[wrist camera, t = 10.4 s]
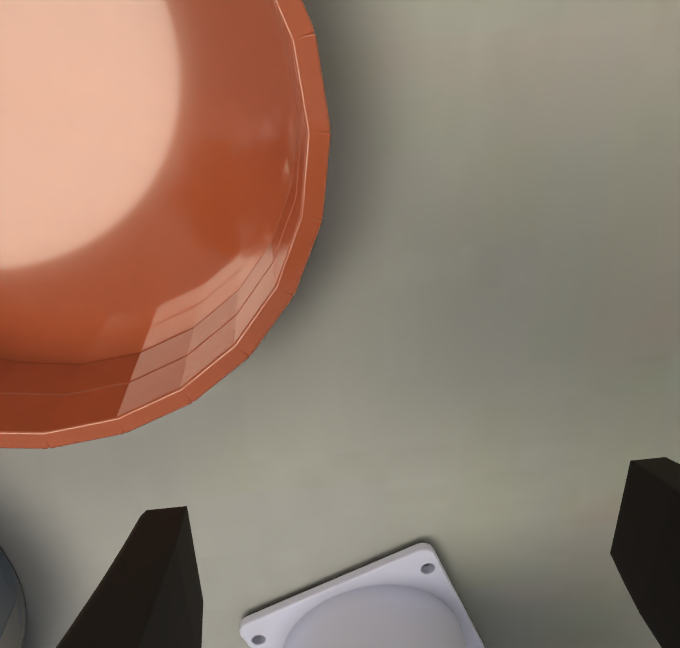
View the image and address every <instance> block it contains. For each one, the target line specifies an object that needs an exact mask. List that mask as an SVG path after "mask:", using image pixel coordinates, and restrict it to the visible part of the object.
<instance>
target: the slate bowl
mask: <svg viewBox="0 0 680 648" xmlns="http://www.w3.org/2000/svg"><path fill="white" fill-rule="evenodd" d="M25 628H26V608H25V601H24V597H23V593H22V589H21V585H20V583H19V580H18V578H17V576H16V574H15V571H14V569H13V567H12V565H11V564H10V562H9V561H8V559H7V557H6V556H5V554H4V553H3V551H2V550H1V548H0V648H21V647H22V644H23V641H24V635H25Z"/></svg>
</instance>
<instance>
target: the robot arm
mask: <svg viewBox="0 0 680 648" xmlns="http://www.w3.org/2000/svg"><path fill="white" fill-rule="evenodd" d="M610 554H611V556H612V558H613V560H614V562H615V565H616V567H617V569H618V571H619V573H620V575H621V577H622V579H623V581H624V584H625V586H626V588H627V590H628V591H629V593H630V595H631V597H632V599H633V601H634V603H635V605H636V607H637V609H638V611H639V613H640V614H641V616H642V618H643V619H644V621H645V622H646V624H647V626H648V627H649V629H650V630H651V632H652V633H653V635H654V636H655V638H656V639H657V641H658V643H659V644H660V646H661V647H662V648H680V464H678V463H676V462H674V461H672V460H670V459H668V458H666V457H662V458H653V459H643V460H633V461H630V466H629V470H628V475H627V479H626V484H625V488H624V493H623V497H622V502H621V506H620V511H619V516H618V520H617V525H616V529H615V534H614V538H613V543H612V547H611V552H610ZM428 563H430V564H428ZM425 564H428V565H426V566H423V565H425ZM202 618H203V597H202V591H201V586H200V580H199V574H198V568H197V562H196V557H195V551H194V545H193V539H192V533H191V527H190V522H189V516H188V510H187V506H184V507H174V508H165V509H155V510H146V511H145V512H144V513H143V514H142V515H141V517H140V518H139V520H138V521H137V523H136V525H135V527H134V528H133V530H132V532H131V533H130V535H129V537H128V538H127V540H126V542H125V544H124V545H123V547H122V549H121V550H120V552H119V553H118V555H117V557H116V558H115V560H114V562H113V563H112V565H111V566H110V568H109V569H108V571H107V573H106V574H105V576H104V577H103V579H102V580H101V582H100V584H99V585H98V587H97V588H96V590H95V591H94V593H93V594H92V596H91V597H90V599H89V600H88V602H87V603H86V605H85V606H84V608H83V609H82V611H81V612H80V613H79V615H78V616H77V618H76V619H75V621H74V622H73V624H72V625H71V627H70V628H69V630H68V631H67V633H66V634H65V636H64V637H63V638H62V640H61V641H60V643H59V644H58V645H57V647H56V648H201V641H202ZM239 633H240V636H241V637H242V638H243V640H244V641H245V642H246V643H247V645H248V646H249V647H250V648H485V646H484V644H483V642H482V641H481V639H480V637H479V635H478V633H477V631H476V629H475V627H474V625H473V623H472V621H471V619H470V617H469V616H468V614H467V612H466V610H465V608H464V606H463V604H462V602H461V600H460V598H459V596H458V594H457V593H456V591H455V589H454V587H453V585H452V583H451V581H450V579H449V577H448V575H447V573H446V571H445V569H444V568H443V566H442V564H441V562H440V560H439V558H438V556H437V554H436V552H435V550H434V548H433V547H432V546H431V545H430V544H427V543H419V544H415V545H413V546H411V547H408V548H406V549H404V550H401V551H399V552H397V553H394V554H392V555H390V556H387V557H385V558H382V559H380V560H378V561H375V562H373V563H371V564H368V565H366V566H364V567H361V568H359V569H357V570H354V571H352V572H350V573H347V574H345V575H342V576H340V577H338V578H335V579H333V580H331V581H328V582H326V583H324V584H321V585H319V586H317V587H314V588H312V589H310V590H307V591H305V592H302V593H300V594H298V595H295V596H293V597H291V598H288V599H286V600H284V601H281V602H279V603H277V604H274V605H272V606H269V607H267V608H265V609H262V610H260V611H258V612H255V613H253V614H251V615H248V616H246V617H245V618H243V619H242V620H241V621H240V625H239ZM257 635H259V636H257Z"/></svg>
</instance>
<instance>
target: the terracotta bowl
mask: <svg viewBox="0 0 680 648" xmlns="http://www.w3.org/2000/svg"><path fill="white" fill-rule="evenodd" d="M330 130H331V126H330V120H329V114H328V107H327V101H326V95H325V88H324V82H323V76H322V69H321V63H320V57H319V50H318V44H317V38H316V35H315V33H314V27H313V25H312V22H311V20H310V17H309V15H308V13H307V10H306V8H305V5H304V3H303V1H302V0H0V448H40V449H47V448H49V447H50V448H55V447H60V446H65V445H70V444H75V443H80V442H85V441H90V440H95V439H100V438H105V437H110V436H115V435H120V434H124V433H125V432H129V431H132V430H134V429H136V428H138V427H140V426H143V425H145V424H147V423H149V422H151V421H153V420H156V419H158V418H160V417H162V416H164V415H167V414H169V413H171V412H173V411H175V410H178V409H180V408H182V407H184V406H186V405H189V404H191V403H192V402H194V401H195V400H197V399H198V398H199V397H200V396H202V395H203V394H204V393H205V392H207V391H208V390H209V389H210V388H212V387H213V386H214V385H215V384H217V383H218V382H219V381H220V380H222V379H223V378H224V377H225V376H227V375H228V374H229V373H230V372H231V371H233V370H234V369H235V368H236V367H238V366H239V365H240V364H241V363H243V362H244V361H245V360H246V359H248V358H249V356H250V355H252V354H253V352H254V351H255V349H256V348H257V347H258V345H259V344H260V342H261V341H262V340H263V338H264V337H265V336H266V334H267V333H268V331H269V330H270V329H271V327H272V326H273V325H274V323H275V322H276V320H277V319H278V318H279V316H280V315H281V314H282V312H283V311H284V309H285V308H286V307H287V305H288V304H289V303H290V301H291V300H292V298H293V296H294V294H295V293H296V291H297V288H298V285H299V283H300V280H301V277H302V275H303V272H304V269H305V267H306V264H307V261H308V259H309V256H310V253H311V251H312V248H313V245H314V243H315V240H316V237H317V234H318V232H319V229H320V226H321V224H322V218H323V214H324V204H325V193H326V182H327V172H328V161H329V151H330V140H331V133H330Z"/></svg>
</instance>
